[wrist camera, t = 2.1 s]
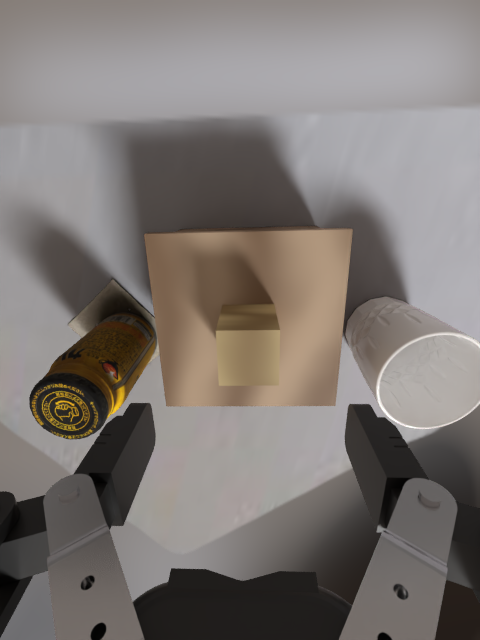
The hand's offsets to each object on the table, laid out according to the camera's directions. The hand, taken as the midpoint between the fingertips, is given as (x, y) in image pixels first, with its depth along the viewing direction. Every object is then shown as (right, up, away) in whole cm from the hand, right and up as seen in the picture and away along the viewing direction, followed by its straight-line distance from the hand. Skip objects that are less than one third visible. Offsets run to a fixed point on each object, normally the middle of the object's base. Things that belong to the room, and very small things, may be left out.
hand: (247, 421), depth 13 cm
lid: (0, +4, +10) cm, 11 cm away
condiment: (-12, +3, +20) cm, 23 cm away
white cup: (+14, +3, +19) cm, 23 cm away
